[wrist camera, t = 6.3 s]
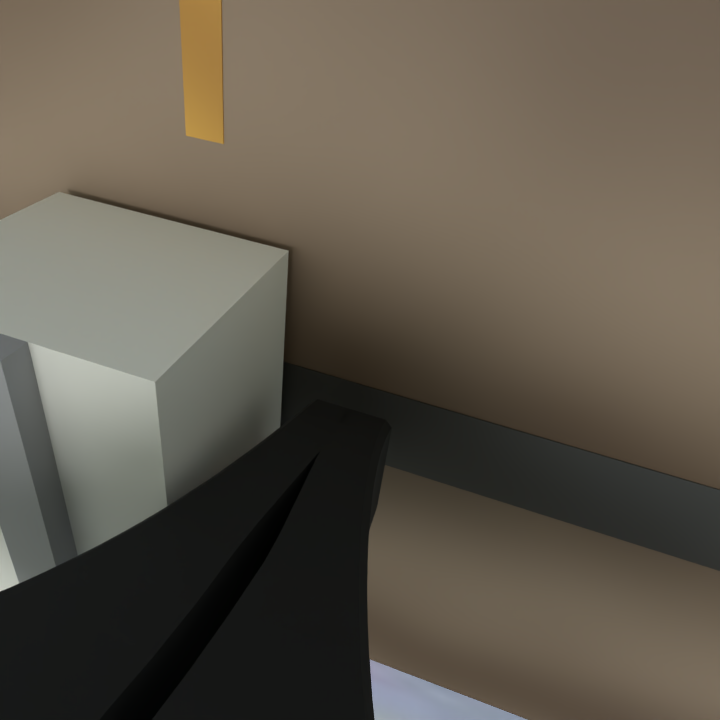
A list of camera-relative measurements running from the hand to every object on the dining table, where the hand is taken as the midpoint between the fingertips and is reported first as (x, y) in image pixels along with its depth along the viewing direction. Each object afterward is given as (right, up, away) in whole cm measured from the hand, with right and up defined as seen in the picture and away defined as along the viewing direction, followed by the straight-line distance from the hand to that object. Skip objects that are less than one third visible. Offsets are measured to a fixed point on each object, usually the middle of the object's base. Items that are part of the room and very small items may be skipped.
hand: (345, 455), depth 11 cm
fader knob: (-3, +1, +1) cm, 3 cm away
